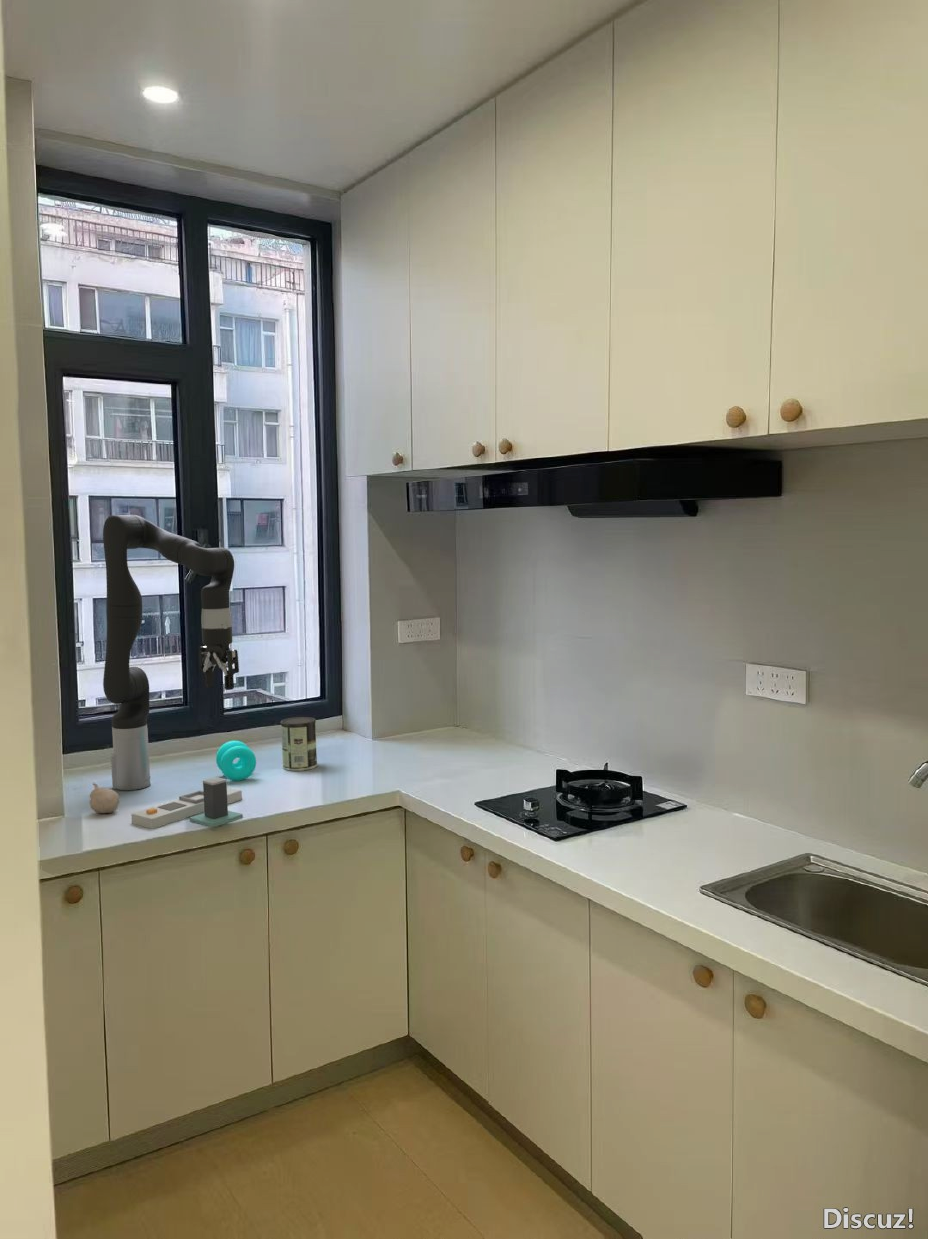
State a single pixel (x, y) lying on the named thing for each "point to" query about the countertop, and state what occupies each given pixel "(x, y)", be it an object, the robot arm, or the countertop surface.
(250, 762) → the donuts
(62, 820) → the countertop surface
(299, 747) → the coffee can
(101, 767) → the countertop surface
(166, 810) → the strip
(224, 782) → the block
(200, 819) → the pad
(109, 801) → the garlic bulb
